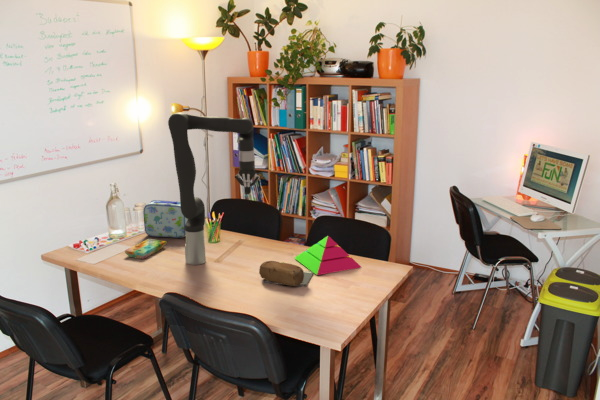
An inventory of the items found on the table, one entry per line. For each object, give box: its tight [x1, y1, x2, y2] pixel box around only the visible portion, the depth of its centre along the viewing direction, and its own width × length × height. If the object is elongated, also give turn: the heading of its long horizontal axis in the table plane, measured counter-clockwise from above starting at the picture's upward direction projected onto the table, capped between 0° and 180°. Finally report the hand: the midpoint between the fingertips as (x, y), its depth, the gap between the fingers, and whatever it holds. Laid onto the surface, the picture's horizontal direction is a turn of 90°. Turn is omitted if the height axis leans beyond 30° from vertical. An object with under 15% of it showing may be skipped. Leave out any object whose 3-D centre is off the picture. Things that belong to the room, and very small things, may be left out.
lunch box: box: [143, 199, 188, 239], centre depth 308 cm, size 26×11×21 cm, turn 81°
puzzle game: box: [124, 238, 167, 260], centre depth 284 cm, size 12×5×20 cm
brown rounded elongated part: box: [258, 260, 304, 287], centre depth 245 cm, size 11×8×20 cm
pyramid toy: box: [294, 235, 362, 276], centre depth 265 cm, size 25×25×14 cm
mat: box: [263, 270, 314, 288], centre depth 250 cm, size 20×16×1 cm
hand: (248, 194), depth 262 cm, fingers closed
